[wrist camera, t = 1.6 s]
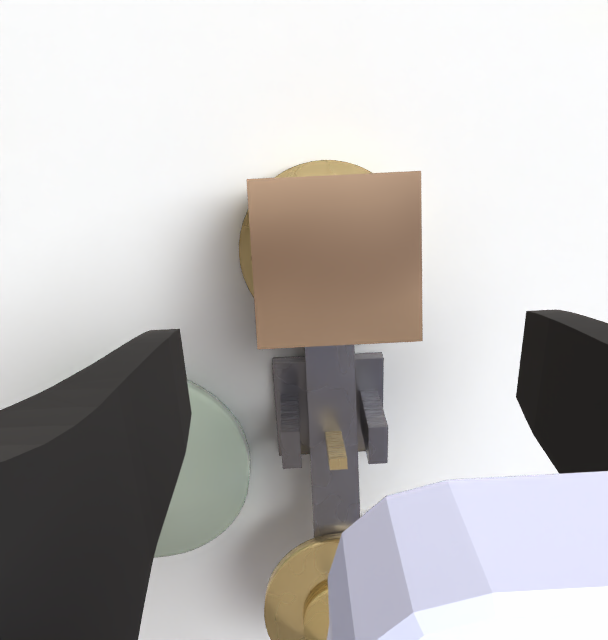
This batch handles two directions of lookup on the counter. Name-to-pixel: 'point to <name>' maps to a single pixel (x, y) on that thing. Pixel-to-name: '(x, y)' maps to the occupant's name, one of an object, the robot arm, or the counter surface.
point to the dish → (206, 477)
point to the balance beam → (317, 454)
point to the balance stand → (295, 408)
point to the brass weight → (316, 612)
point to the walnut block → (336, 259)
